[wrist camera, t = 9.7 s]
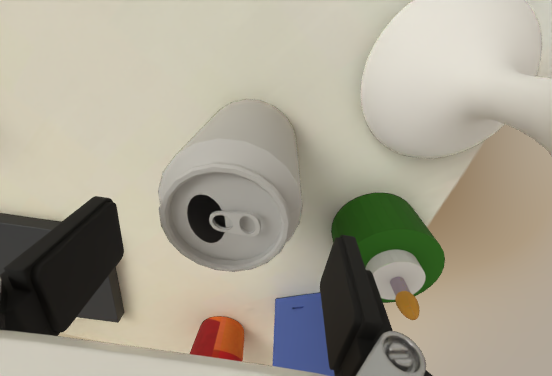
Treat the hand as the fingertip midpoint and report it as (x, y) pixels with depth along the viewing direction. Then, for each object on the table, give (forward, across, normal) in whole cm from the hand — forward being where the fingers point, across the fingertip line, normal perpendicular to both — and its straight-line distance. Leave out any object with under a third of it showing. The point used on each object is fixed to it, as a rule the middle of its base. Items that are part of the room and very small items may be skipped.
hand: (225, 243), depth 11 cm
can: (+13, 0, 0) cm, 13 cm away
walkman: (+13, -8, +19) cm, 25 cm away
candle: (+14, -12, +7) cm, 20 cm away
